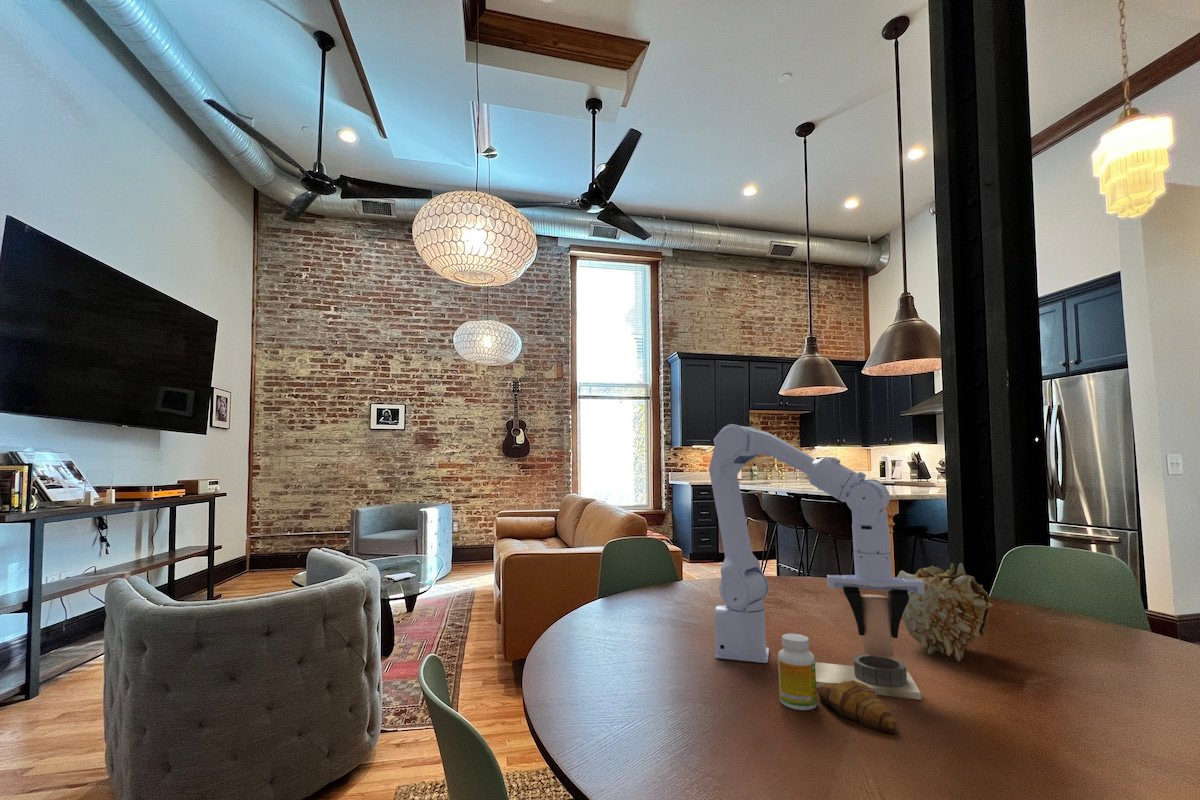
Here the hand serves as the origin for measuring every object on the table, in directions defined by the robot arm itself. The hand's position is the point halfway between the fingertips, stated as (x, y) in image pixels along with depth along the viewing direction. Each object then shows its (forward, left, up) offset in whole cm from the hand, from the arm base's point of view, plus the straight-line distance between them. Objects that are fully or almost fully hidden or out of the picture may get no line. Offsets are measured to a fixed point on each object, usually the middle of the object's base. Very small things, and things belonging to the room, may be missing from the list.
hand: (877, 635), depth 92 cm
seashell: (+15, +22, -8) cm, 28 cm away
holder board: (-5, 0, -8) cm, 9 cm away
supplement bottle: (-13, -12, -8) cm, 19 cm away
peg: (0, 0, -3) cm, 3 cm away
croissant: (-5, -13, -8) cm, 16 cm away
